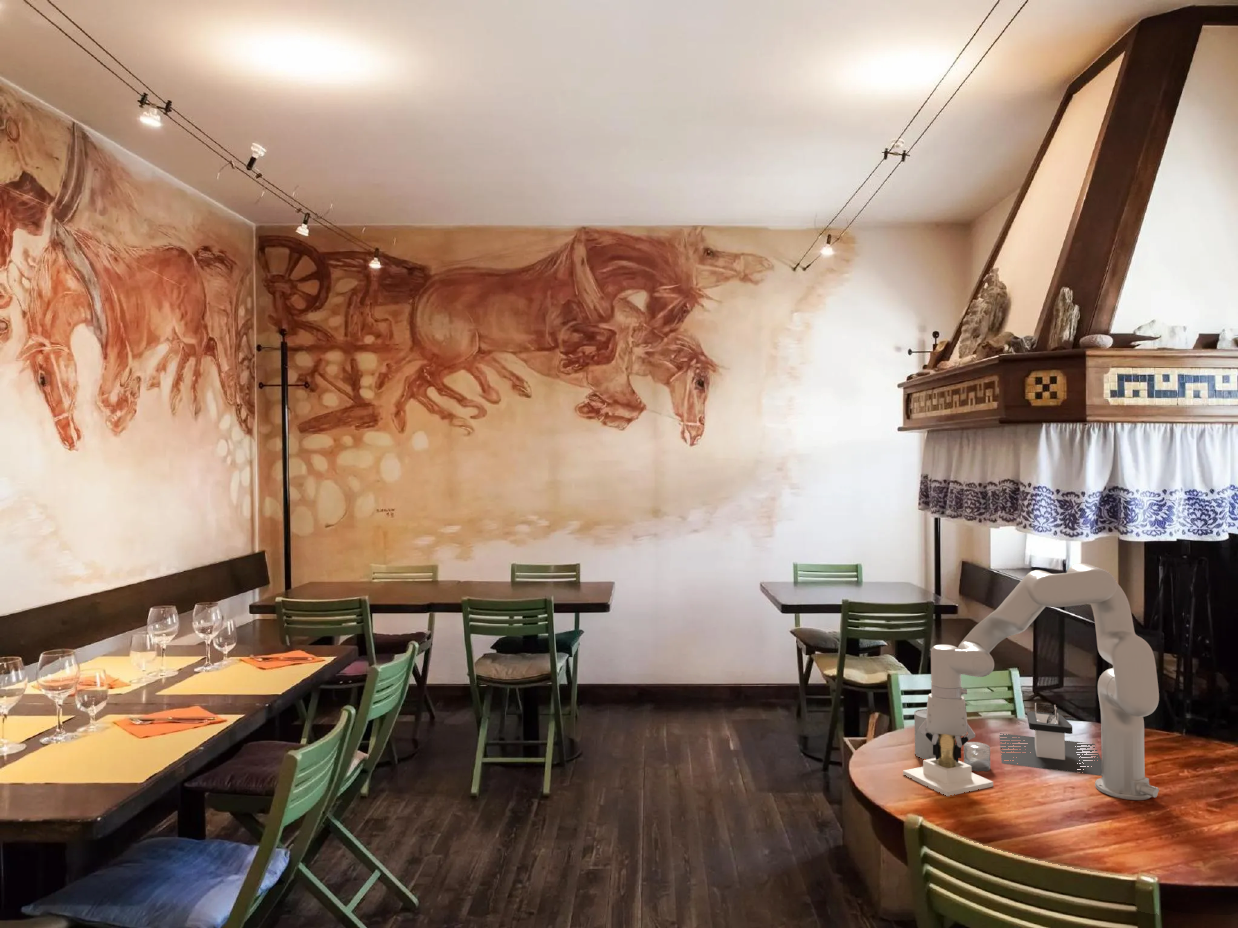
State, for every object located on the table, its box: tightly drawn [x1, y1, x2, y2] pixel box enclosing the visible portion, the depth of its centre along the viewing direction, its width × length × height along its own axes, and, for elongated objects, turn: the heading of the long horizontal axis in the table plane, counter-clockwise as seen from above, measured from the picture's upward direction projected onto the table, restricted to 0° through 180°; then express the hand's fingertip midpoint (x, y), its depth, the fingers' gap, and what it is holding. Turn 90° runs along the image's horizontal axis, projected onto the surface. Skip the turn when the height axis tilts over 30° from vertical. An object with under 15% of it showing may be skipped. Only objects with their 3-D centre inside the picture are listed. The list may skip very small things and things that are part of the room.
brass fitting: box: [938, 734, 956, 768], centre depth 218 cm, size 4×4×9 cm
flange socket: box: [902, 758, 994, 797], centre depth 218 cm, size 16×16×5 cm
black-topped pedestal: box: [999, 702, 1102, 777], centre depth 238 cm, size 28×26×13 cm
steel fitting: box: [963, 741, 991, 772], centre depth 228 cm, size 7×7×6 cm
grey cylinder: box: [913, 708, 938, 760], centre depth 237 cm, size 10×10×12 cm
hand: (947, 758), depth 218 cm, fingers closed on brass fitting, 4 cm apart
